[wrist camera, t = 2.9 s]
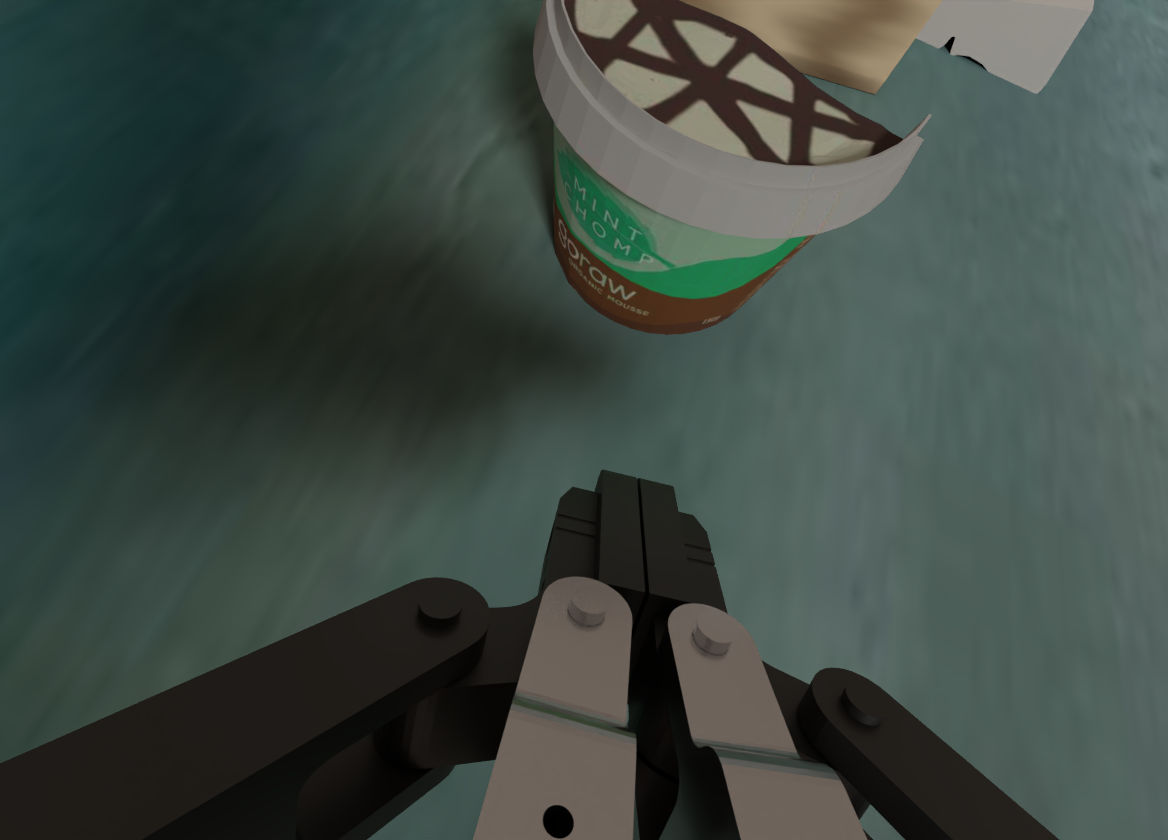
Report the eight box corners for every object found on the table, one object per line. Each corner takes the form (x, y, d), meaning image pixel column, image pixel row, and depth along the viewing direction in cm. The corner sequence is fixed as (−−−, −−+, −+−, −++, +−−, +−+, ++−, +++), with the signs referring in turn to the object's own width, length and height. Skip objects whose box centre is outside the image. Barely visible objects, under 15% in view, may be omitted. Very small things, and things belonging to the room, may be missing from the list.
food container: (460, 249, 24) (438, 3, 14) (547, 161, 26) (577, -102, 17) (711, 420, 23) (861, 274, 13) (779, 314, 25) (949, 125, 16)
